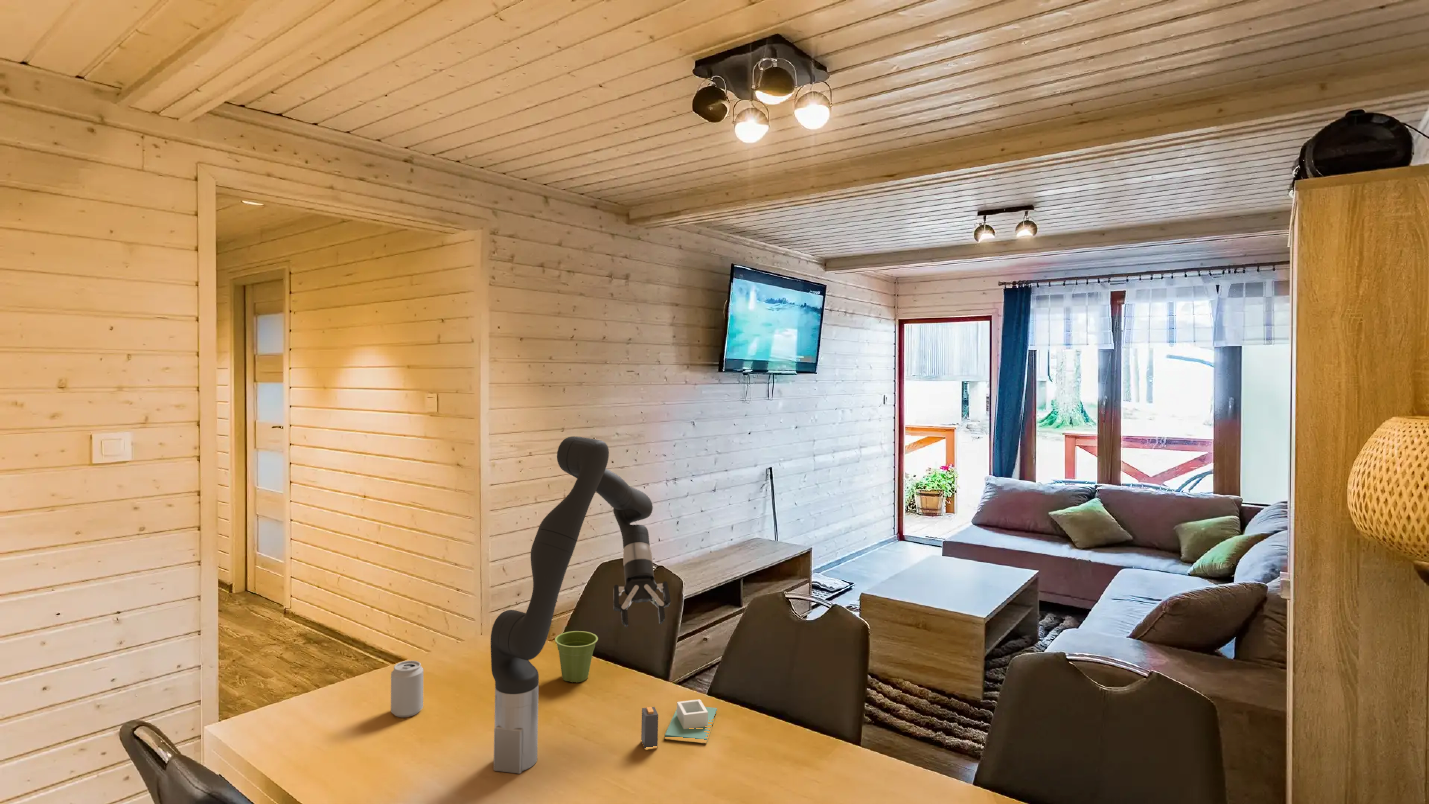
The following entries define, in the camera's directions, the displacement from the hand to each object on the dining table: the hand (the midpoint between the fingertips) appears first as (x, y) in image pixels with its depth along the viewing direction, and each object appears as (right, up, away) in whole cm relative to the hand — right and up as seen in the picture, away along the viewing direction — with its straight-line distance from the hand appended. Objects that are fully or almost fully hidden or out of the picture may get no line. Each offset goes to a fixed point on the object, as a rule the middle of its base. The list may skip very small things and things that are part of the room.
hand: (644, 624), depth 180 cm
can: (-60, -23, +2) cm, 64 cm away
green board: (+12, -25, -1) cm, 27 cm away
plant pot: (-22, -23, +25) cm, 40 cm away
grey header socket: (+12, -23, -1) cm, 26 cm away
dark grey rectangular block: (+2, -25, -10) cm, 27 cm away
